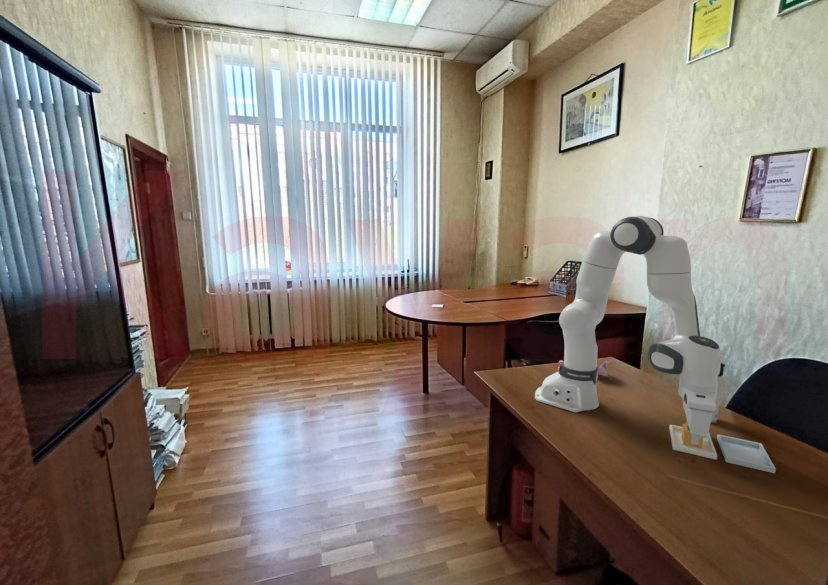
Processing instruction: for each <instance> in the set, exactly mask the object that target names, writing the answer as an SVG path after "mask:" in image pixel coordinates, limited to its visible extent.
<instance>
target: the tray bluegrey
mask: <svg viewBox="0 0 828 585" xmlns="http://www.w3.org/2000/svg"><path fill="white" fill-rule="evenodd" d="M716 439H717V442H718V444H719V448H720V451H721V453H722V455H723V459H724V460H725V463H729V464H733V465H737V466H742V467H746V468H750V469H755V470H759V471H763V472H766V473H767V472H768V473H772V474H776V470H777V468H776V467H775V465H774V463H773V462H772V461H773V460H772V459H771V458H770V456H769V454H768V452H767V451H766V449H765V447H764V445H763V444H762V442H757V441H751V440H748V439H741V438H737V437H733V436H727V435H722V434H719V433H717V434H716Z"/></svg>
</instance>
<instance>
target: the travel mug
mask: <svg viewBox="0 0 828 585" xmlns="http://www.w3.org/2000/svg"><path fill="white" fill-rule="evenodd" d="M725 367H726V364H725V363H722V362H721V366H720V373H719V375H718V377H717V382H718V390H717V397H716V411H715V412H713V411H712V420H711V424H716V423H717V422H718V417H719V409H720V402H721V394H722V388H723V378H724V369H725Z"/></svg>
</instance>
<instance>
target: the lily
mask: <svg viewBox="0 0 828 585" xmlns="http://www.w3.org/2000/svg"><path fill="white" fill-rule="evenodd" d="M612 360H613V358H611V359H610V360H609V361H608V359H605V360H604V361H603V362H602V363H601V365H599V368H598V374H599V373H606V374H607V376H608V377H609V379H610V381H612V382H613V379H612V378H611V376H610V374H609V373H608V371H607V370H608V364H609V363H610V362H612Z"/></svg>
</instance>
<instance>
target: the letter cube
mask: <svg viewBox="0 0 828 585" xmlns="http://www.w3.org/2000/svg"><path fill="white" fill-rule="evenodd" d="M681 427H682V435H681V438H682V442H683V445H688V446H692V447H696V448H701V449H702V444H703V437H700V439H699V444H698V445H695V444H692V443H691V441H690V439H691V433H690V429H689V425H688V424H686V423H682V426H681Z"/></svg>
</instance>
